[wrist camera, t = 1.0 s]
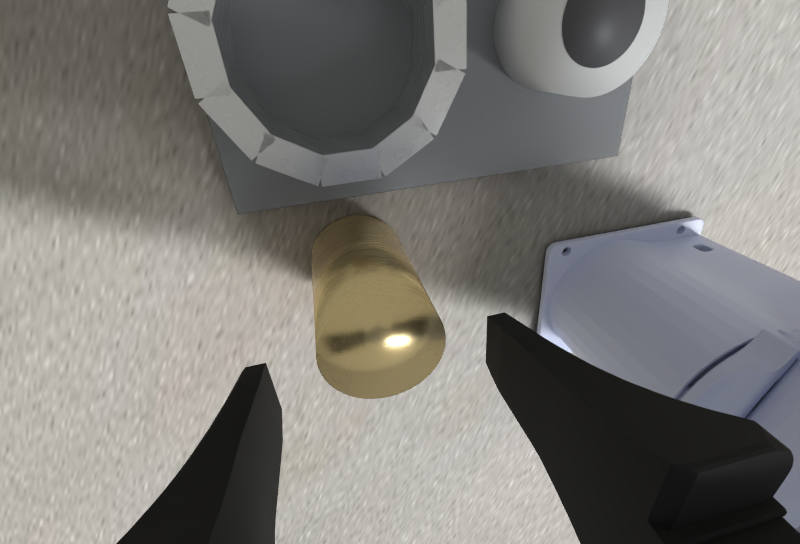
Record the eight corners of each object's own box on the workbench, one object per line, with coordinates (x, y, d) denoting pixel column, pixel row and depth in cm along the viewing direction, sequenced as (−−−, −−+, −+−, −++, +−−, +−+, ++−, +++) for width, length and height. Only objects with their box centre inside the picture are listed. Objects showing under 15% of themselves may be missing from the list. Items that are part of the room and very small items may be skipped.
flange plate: (654, -171, 14) (782, -251, 10) (600, 150, 19) (670, 173, 16) (131, -161, 11) (50, -262, 8) (241, 204, 17) (225, 246, 13)
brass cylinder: (397, 208, 18) (443, 283, 12) (404, 287, 21) (447, 383, 15) (302, 223, 18) (303, 310, 12) (320, 303, 20) (329, 410, 14)
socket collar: (431, -116, 12) (466, -160, 10) (440, 147, 16) (466, 165, 14) (157, -106, 11) (115, -152, 9) (240, 175, 15) (227, 200, 13)
